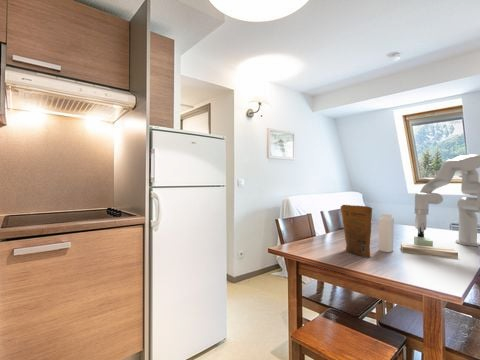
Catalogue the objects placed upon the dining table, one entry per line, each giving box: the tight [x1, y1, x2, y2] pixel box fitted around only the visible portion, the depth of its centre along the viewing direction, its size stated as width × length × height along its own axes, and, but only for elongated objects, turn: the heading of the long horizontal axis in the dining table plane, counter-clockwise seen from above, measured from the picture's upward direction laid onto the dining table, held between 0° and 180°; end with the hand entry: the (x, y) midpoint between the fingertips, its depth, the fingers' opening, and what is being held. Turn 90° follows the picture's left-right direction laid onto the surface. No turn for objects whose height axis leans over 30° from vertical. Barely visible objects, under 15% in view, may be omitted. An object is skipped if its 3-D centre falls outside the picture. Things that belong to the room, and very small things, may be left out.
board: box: [400, 242, 459, 259], centre depth 155 cm, size 10×26×3 cm, turn 65°
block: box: [413, 236, 434, 247], centre depth 166 cm, size 10×8×6 cm
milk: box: [378, 213, 395, 253], centre depth 158 cm, size 6×6×22 cm
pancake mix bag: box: [340, 204, 373, 258], centre depth 151 cm, size 7×19×28 cm, turn 28°
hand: (420, 239), depth 172 cm, fingers closed
